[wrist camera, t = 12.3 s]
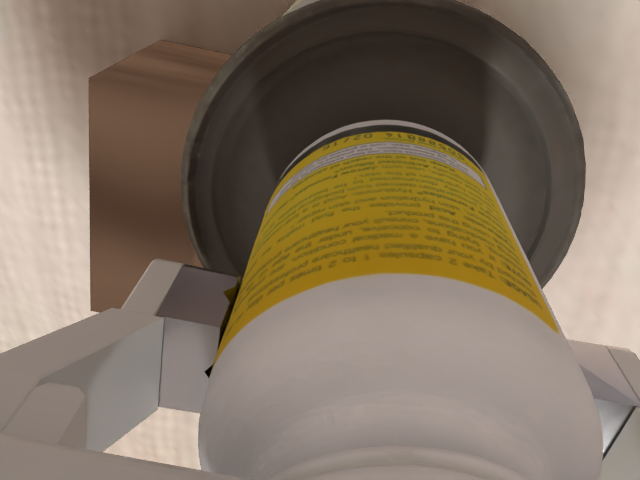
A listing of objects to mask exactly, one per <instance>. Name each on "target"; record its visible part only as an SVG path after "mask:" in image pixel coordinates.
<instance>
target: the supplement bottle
mask: <svg viewBox="0 0 640 480" xmlns="http://www.w3.org/2000/svg"><path fill="white" fill-rule="evenodd" d="M198 448H199V458H200V465H201V469H202V471H207V472H213V473H219V474H224V475H230V476H235V477H241V478H246V479H252V480H599V478H600V474H601V469H602V459H603V435H602V428H601V421H600V416H599V413H598V410H597V407H596V404H595V401H594V398H593V395H592V392H591V389H590V387H589V385H588V383H587V381H586V379H585V376H584V374H583V372H582V370H581V368H580V366H579V364H578V362H577V360H576V358H575V356H574V354H573V352H572V350H571V348H570V346H569V344H568V342H567V340H566V338H565V336H564V334H563V332H562V330H561V328H560V326H559V324H558V322H557V320H556V318H555V316H554V313H553V311H552V309H551V307H550V305H549V303H548V301H547V299H546V297H545V295H544V293H543V291H542V288H541V286H540V284H539V282H538V280H537V278H536V276H535V274H534V272H533V270H532V267H531V265H530V263H529V261H528V259H527V257H526V255H525V253H524V251H523V249H522V247H521V245H520V243H519V241H518V239H517V237H516V234H515V232H514V230H513V228H512V226H511V224H510V222H509V220H508V218H507V216H506V213H505V211H504V209H503V207H502V205H501V203H500V201H499V199H498V197H497V195H496V193H495V190H494V189H493V187H492V185H491V183H490V181H489V179H488V177H487V175H486V174H485V172H484V171H483V169H482V168H481V167H480V165H479V164H478V162H477V161H476V160H475V159H474V158H473V157H472V156H471V155H470V154H469V153H468V152H467V151H466V150H465V149H464V148H463V147H462V146H461V145H459V144H458V143H456V142H455V141H454V140H452V139H451V138H449V137H447V136H446V135H444V134H442V133H440V132H438V131H436V130H434V129H431V128H429V127H426V126H423V125H419V124H416V123H412V122H406V121H399V120H373V121H365V122H359V123H354V124H350V125H347V126H344V127H341V128H339V129H336V130H334V131H332V132H330V133H328V134H326V135H324V136H322V137H321V138H319V139H318V140H316V141H315V142H313V143H312V144H311V145H309V146H308V147H307V148H305V149H304V150H303V151H302V152H301V153H300V154H299V155H298V156H297V157H296V158H295V159H294V160H293V161H292V162H291V163H290V165H289V166H288V167H287V168H286V170H285V171H284V173H283V174H282V176H281V178H280V179H279V181H278V183H277V185H276V187H275V189H274V191H273V192H272V195H271V198H270V201H269V203H268V206H267V209H266V211H265V213H264V217H263V220H262V224H261V227H260V229H259V232H258V235H257V238H256V240H255V243H254V246H253V249H252V252H251V255H250V258H249V261H248V265H247V268H246V271H245V274H244V277H243V279H242V282H241V285H240V288H239V291H238V294H237V297H236V300H235V303H234V306H233V309H232V312H231V315H230V318H229V320H228V323H227V326H226V329H225V331H224V334H223V337H222V340H221V343H220V345H219V349H218V352H217V355H216V358H215V360H214V363H213V367H212V370H211V374H210V377H209V380H208V384H207V388H206V393H205V397H204V400H203V404H202V408H201V413H200V420H199V431H198Z"/></svg>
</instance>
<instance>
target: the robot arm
mask: <svg viewBox="0 0 640 480" xmlns="http://www.w3.org/2000/svg"><path fill="white" fill-rule="evenodd" d="M239 287H240V276H239V275H234V274H229V273H225V272H220V271H215V270H211V269H206V268H201V267H197V266H192V265H187V264H185V265H184V264H183V263H178V262H173V261H167V260H162V259H155V260H153V261H152V262H151V263H150V265H149V266H148V268H147V269H146V271H145V273H144V274H143V276H142V277H141V279H140V280H139V282H138V283H137V285H136V286H135V288H134V289H133V291H132V292H131V294H130V296H129V297H128V299H127V300H126V302H125V303H124V305H123V306H122V308H121V309H116V308H110V309H108V310H106V311H103V312H101V313H98V314H96V315H93V316H91V317H89V318H86V319H84V320H81V321H79V322H76V323H74V324H72V325H69V326H67V327H64V328H62V329H59V330H57V331H54V332H52V333H50V334H47V335H45V336H42V337H40V338H37V339H35V340H33V341H30V342H28V343H25V344H23V345H20V346H18V347H16V348H13V349H11V350H8V351H6V352H3V353H1V354H0V480H252V479H246V478H241V477H235V476H230V475H224V474H219V473H213V472H207V471H202V470H196V469H191V468H185V467H180V466H174V465H169V464H163V463H158V462H152V461H146V460H141V459H135V458H130V457H124V456H119V455H113V454H108V453H103V451H104V450H106V449H107V448H108V447H110V446H111V445H112V444H113V443H115V442H116V441H117V440H119V439H120V438H121V437H123V436H124V435H125V434H126V433H128V432H129V431H130V430H132V429H133V428H134V427H136V426H137V425H138V424H139V423H141V422H142V421H143V420H145V419H146V418H147V417H149V416H150V415H151V414H152V413H154V412H155V411H156V410H158V407H163V408H170V409H176V410H182V411H189V412H195V413H201V408H202V404H203V400H204V397H205V393H206V388H207V384H208V380H209V377H210V374H211V370H212V367H213V363H214V360H215V358H216V355H217V352H218V349H219V345H220V343H221V340H222V337H223V334H224V331H225V329H226V326H227V323H228V320H229V318H230V315H231V312H232V309H233V306H234V303H235V300H236V297H237V294H238V291H239ZM566 340H567V342H568V344H569V346H570V348H571V350H572V352H573V354H574V356H575V358H576V360H577V362H578V364H579V366H580V368H581V370H582V372H583V374H584V376H585V379H586V381H587V383H588V385H589V387H590V389H591V392H592V395H593V398H594V401H595V404H596V407H597V410H598V413H599V416H600V421H601V428H602V435H603V459H602V469H601V474H600V478H599V480H640V360H639V359H638V357H637V356H636V354H635V353H633V352H632V351H630V350H629V349H625V348H618V347H612V346H606V345H597V344H591V343H586V342H580V341H574V340H568V339H566Z"/></svg>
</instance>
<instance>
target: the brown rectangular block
mask: <svg viewBox="0 0 640 480" xmlns="http://www.w3.org/2000/svg"><path fill="white" fill-rule="evenodd" d="M231 56H232V55H230V54H226V53H221V52H216V51H211V50H206V49H202V48H197V47H192V46H187V45H182V44H177V43H173V42H168V41H163V40H160V41H158V42H156V43H154V44H152V45H150V46H149V47H147V48H145V49H143V50H141V51H139V52H137V53H135V54H133V55H132V56H130V57H128V58H126V59H124V60H122V61H120V62H118V63H116V64H115V65H113V66H111V67H109V68H107V69H105V70H103V71H101V72H99V73H98V74H96V75H94V76H92V77H90V78H89V177H90V294H91V311H95V312H100V313H101V312H103V311H106V310H108V309H110V308H116V309H121V308H122V306H123V305H124V303H125V302H126V300H127V299H128V297H129V296H130V294H131V292H132V291H133V289H134V288H135V286H136V285H137V283H138V282H139V280H140V279H141V277H142V276H143V274H144V273H145V271H146V269H147V268H148V266H149V265H150V263H151V262H152V261H153V260H155V259H162V260H167V261H173V262H178V263H183V264H184V265H185V264H187V265H192V266H197V267H201V268H204V267H203V266H202V264H201V262H200V260H199V258H198V256H197V254H196V252H195V250H194V248H193V245H192V243H191V240H190V237H189V233H188V230H187V227H186V223H185V219H184V213H183V208H182V202H181V185H180V182H181V162H182V154H183V149H184V145H185V141H186V136H187V133H188V130H189V127H190V124H191V121H192V118H193V115H194V113H195V110H196V108H197V106H198V104H199V102H200V100H201V99H202V97H203V95H204V93H205V91H206V89H207V87H208V86H209V84H210V83H211V81H212V80H213V79H214V77H215V76H216V74H217V73H218V71H219V70H220V69H221V67H222V66H223V65H224V64H225V62H226V61H227V60H228V59H229V58H230V57H231Z"/></svg>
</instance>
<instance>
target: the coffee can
mask: <svg viewBox="0 0 640 480" xmlns="http://www.w3.org/2000/svg"><path fill="white" fill-rule="evenodd" d="M373 120H399V121H406V122H412V123H416V124H419V125H423V126H426V127H429V128H431V129H434V130H436V131H438V132H440V133H442V134H444V135H446V136H447V137H449V138H451V139H452V140H454V141H455V142H456V143H458V144H459V145H461V146H462V147H463V148H464V149H465V150H466V151H467V152H468V153H469V154H470V155H471V156H472V157H473V158H474V159H475V160H476V161H477V162H478V164H479V165H480V167H481V168H482V169H483V171H484V172H485V174H486V175H487V177H488V179H489V181H490V183H491V185H492V187H493V189H494V190H495V193H496V195H497V197H498V199H499V201H500V203H501V205H502V207H503V209H504V211H505V213H506V216H507V218H508V220H509V222H510V224H511V226H512V228H513V230H514V232H515V234H516V237H517V239H518V241H519V243H520V245H521V247H522V249H523V251H524V253H525V255H526V257H527V259H528V261H529V263H530V265H531V267H532V270H533V272H534V274H535V276H536V278H537V280H538V282H539V284H540V286H541V288H542V289H543V287H544V286H545V285H546V284H547V282H548V281H549V280H550V279H551V278H552V276H553V275H554V273H555V272H556V270H557V269H558V267H559V266H560V264H561V263H562V261H563V259H564V258H565V256H566V254H567V252H568V249H569V247H570V245H571V243H572V240H573V238H574V236H575V233H576V230H577V227H578V224H579V220H580V217H581V209H582V206H583V201H584V190H585V170H586V163H585V156H584V144H583V138H582V134H581V130H580V127H579V123H578V120H577V118H576V115H575V112H574V110H573V107H572V105H571V102H570V100H569V98H568V95H567V94H566V92H565V90H564V88H563V87H562V85H561V83H560V82H559V80H558V79H557V77H556V76H555V74H554V73H553V72H552V70H551V69H550V68H549V66H548V65H547V64H546V63H545V61H544V60H543V59H542V58H541V57H540V55H539V54H538V53H537V52H536V51H535V50H534V49H532V47H531V46H530V45H529V44H528V43H527V42H526V41H525V40H524V39H522V38H521V37H520V36H518V35H517V34H516V33H514V32H513V31H512V30H510V29H509V28H507V27H506V26H505V25H503V24H501V23H500V22H498V21H497V20H495V19H494V18H492V17H491V16H489V15H487V14H484V13H483V12H481V11H480V10H477V9H475V8H473V7H470V6H468V5H465V4H463V3H460V2H458V1H455V0H296V1H295V2H294V3H293V4H292V5H291V6H290V8H289V9H288V10H287V11H286V12H285V13H284V14H283V15H282V16H281V17H280V18H279V19H277V20H276V21H274V22H273V23H271V24H270V25H268V26H266V27H265V28H263V29H262V30H261V31H259V32H258V33H257V34H255V35H254V36H253V37H252V38H251V39H250V40H248V41H247V42H246V43H245V44H244V45H243V46H242V47H240V48H239V49H238V50H237V51H236V52H235V53H234V54H233V55H232V56H231V57H230V58H229V59H228V60H227V61H226V62H225V64H224V65H223V66H222V67H221V69H220V70H219V71H218V73H217V74H216V76H215V77H214V79H213V80H212V81H211V83H210V84H209V86H208V87H207V89H206V91H205V93H204V95H203V97H202V99H201V100H200V102H199V104H198V106H197V108H196V110H195V113H194V115H193V118H192V121H191V124H190V127H189V130H188V133H187V136H186V141H185V145H184V149H183V154H182V162H181V182H180V185H181V202H182V208H183V213H184V219H185V223H186V227H187V230H188V233H189V237H190V240H191V243H192V245H193V248H194V250H195V252H196V254H197V256H198V258H199V260H200V262H201V264H202V266H203V267H204V268H206V269H211V270H215V271H220V272H225V273H229V274H234V275H239V276H240V285H241V282H242V279H243V277H244V274H245V271H246V268H247V265H248V261H249V258H250V255H251V252H252V249H253V246H254V243H255V240H256V238H257V235H258V232H259V229H260V227H261V224H262V220H263V217H264V213H265V211H266V209H267V206H268V203H269V201H270V198H271V195H272V192H273V191H274V189H275V187H276V185H277V183H278V181H279V179H280V178H281V176H282V174H283V173H284V171H285V170H286V168H287V167H288V166H289V165H290V163H291V162H292V161H293V160H294V159H295V158H296V157H297V156H298V155H299V154H300V153H301V152H302V151H303V150H304V149H305V148H307V147H308V146H309V145H311V144H312V143H313V142H315V141H316V140H318V139H319V138H321V137H322V136H324V135H326V134H328V133H330V132H332V131H334V130H336V129H339V128H341V127H344V126H347V125H350V124H354V123H359V122H365V121H373ZM239 288H240V287H239Z"/></svg>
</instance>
